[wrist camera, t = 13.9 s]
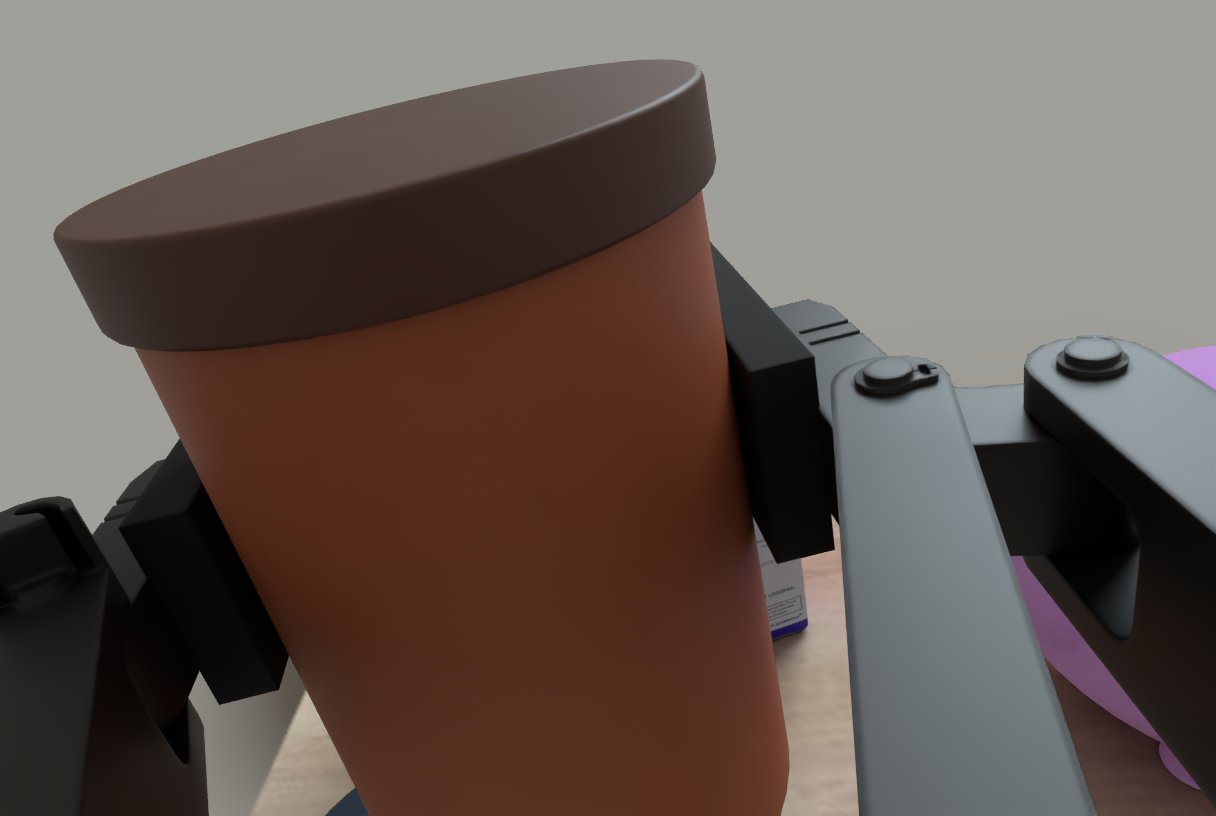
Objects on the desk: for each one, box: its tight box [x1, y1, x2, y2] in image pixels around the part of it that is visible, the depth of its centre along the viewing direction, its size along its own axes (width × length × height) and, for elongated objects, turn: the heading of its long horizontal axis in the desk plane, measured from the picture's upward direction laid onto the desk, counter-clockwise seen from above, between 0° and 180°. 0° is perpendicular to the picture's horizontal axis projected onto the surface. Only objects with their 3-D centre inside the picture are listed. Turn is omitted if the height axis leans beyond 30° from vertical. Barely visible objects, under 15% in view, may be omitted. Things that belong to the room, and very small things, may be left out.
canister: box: [54, 60, 789, 816], centre depth 11 cm, size 7×7×10 cm
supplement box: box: [753, 518, 808, 640], centre depth 35 cm, size 6×6×12 cm
